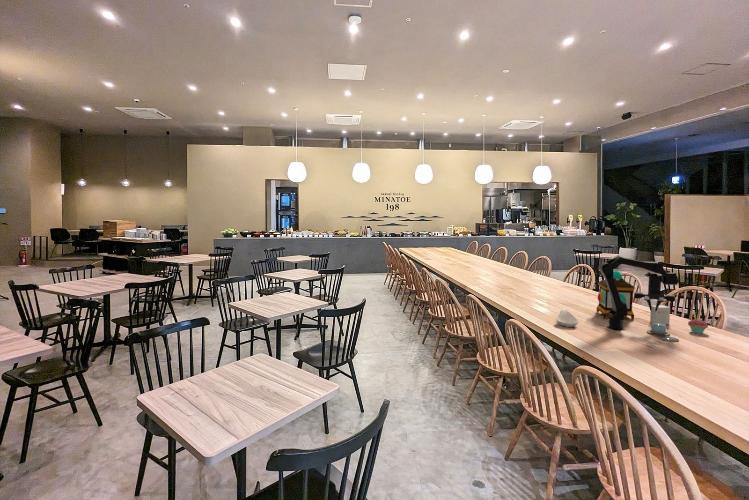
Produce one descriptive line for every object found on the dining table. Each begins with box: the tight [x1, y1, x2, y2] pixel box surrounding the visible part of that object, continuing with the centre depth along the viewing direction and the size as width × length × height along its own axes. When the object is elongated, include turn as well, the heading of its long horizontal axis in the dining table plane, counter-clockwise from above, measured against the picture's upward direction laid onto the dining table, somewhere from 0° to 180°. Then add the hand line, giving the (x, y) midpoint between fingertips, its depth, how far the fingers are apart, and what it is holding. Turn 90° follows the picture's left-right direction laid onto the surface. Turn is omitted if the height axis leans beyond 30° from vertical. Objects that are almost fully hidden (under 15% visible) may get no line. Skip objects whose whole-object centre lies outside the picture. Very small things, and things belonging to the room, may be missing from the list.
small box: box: [649, 304, 671, 325], centre depth 235 cm, size 8×6×10 cm
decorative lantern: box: [596, 270, 636, 321], centre depth 252 cm, size 20×20×30 cm
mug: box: [650, 322, 667, 335], centre depth 216 cm, size 11×7×6 cm, turn 133°
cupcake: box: [687, 311, 709, 334], centre depth 216 cm, size 9×8×12 cm
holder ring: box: [646, 329, 671, 337], centre depth 215 cm, size 10×10×1 cm
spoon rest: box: [556, 309, 579, 328], centre depth 238 cm, size 24×12×7 cm, turn 163°
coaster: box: [658, 336, 680, 343], centre depth 205 cm, size 9×9×1 cm
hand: (653, 311), depth 220 cm, fingers closed
